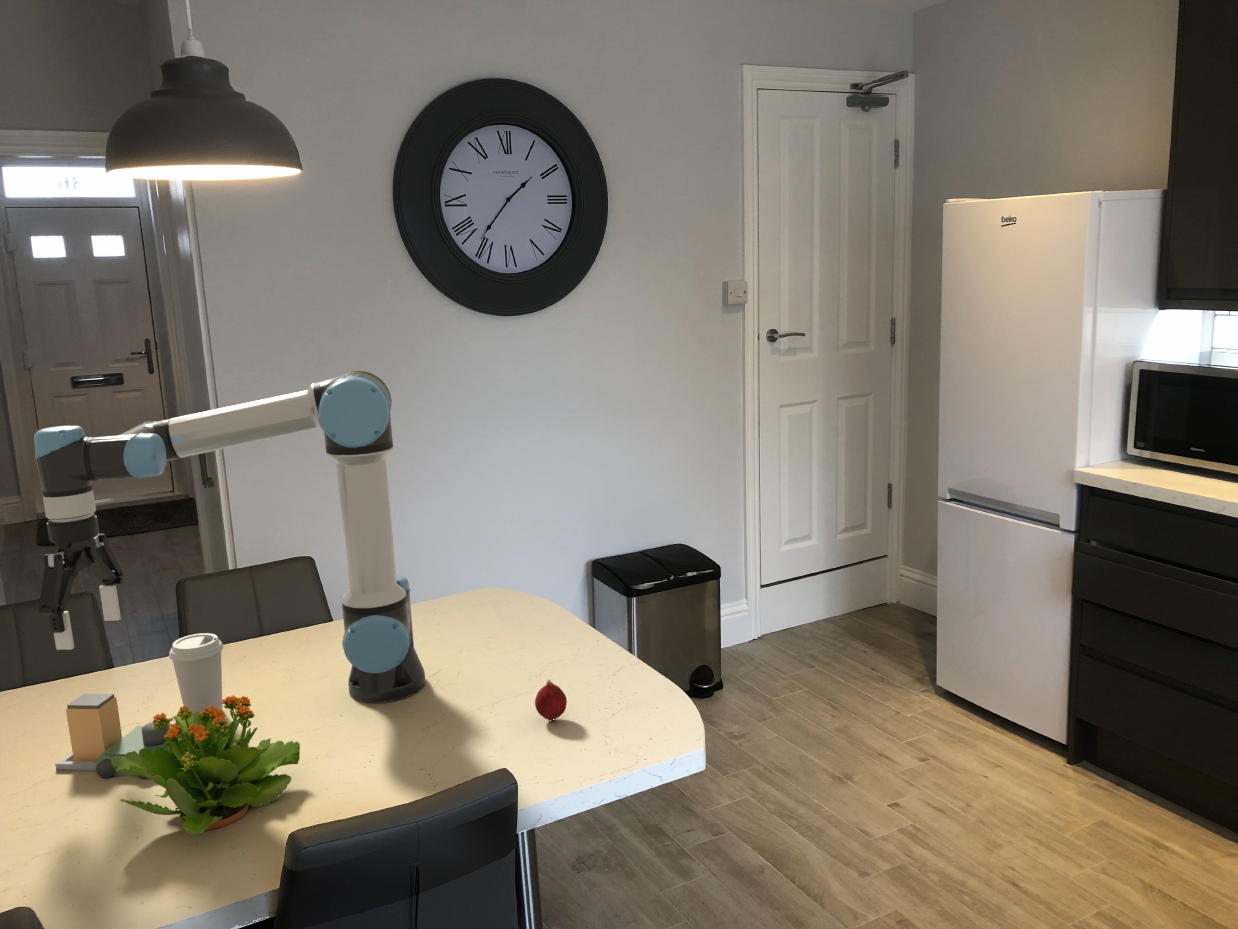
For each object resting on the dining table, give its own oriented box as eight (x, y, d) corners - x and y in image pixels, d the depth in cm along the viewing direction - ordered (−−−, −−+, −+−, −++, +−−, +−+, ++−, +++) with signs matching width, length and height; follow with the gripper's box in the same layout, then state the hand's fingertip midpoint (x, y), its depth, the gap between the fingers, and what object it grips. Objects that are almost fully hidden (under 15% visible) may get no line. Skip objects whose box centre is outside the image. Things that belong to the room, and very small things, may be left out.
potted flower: (265, 859, 136) (252, 746, 133) (94, 872, 135) (77, 758, 131) (307, 770, 161) (297, 673, 157) (163, 780, 159) (150, 683, 156)
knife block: (123, 748, 170) (115, 693, 168) (106, 762, 165) (98, 706, 163) (92, 748, 170) (83, 693, 168) (74, 762, 166) (65, 705, 164)
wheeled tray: (199, 739, 173) (195, 708, 172) (156, 779, 160) (151, 746, 158) (98, 737, 175) (94, 707, 174) (47, 777, 161) (42, 744, 160)
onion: (572, 716, 177) (571, 676, 176) (558, 730, 172) (556, 689, 171) (545, 711, 180) (543, 672, 178) (530, 725, 175) (528, 684, 173)
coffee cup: (211, 727, 178) (201, 651, 175) (166, 724, 180) (156, 649, 177) (241, 704, 187) (232, 632, 184) (197, 702, 189) (188, 630, 186)
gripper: (94, 500, 175) (111, 609, 179) (-1, 537, 151) (21, 662, 155) (133, 499, 175) (149, 608, 179) (44, 536, 150) (65, 662, 154)
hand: (90, 634), depth 167 cm, fingers open, 13 cm apart
